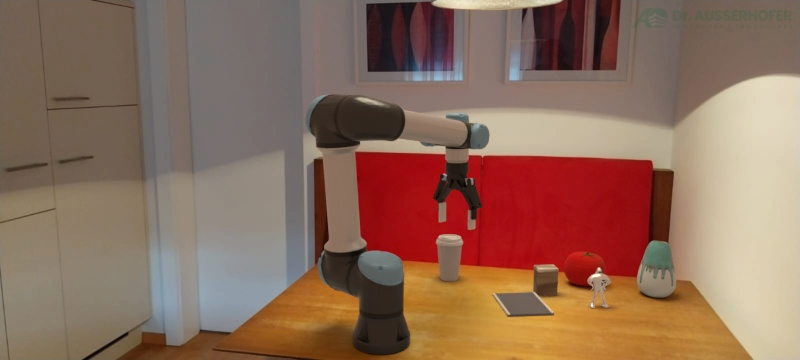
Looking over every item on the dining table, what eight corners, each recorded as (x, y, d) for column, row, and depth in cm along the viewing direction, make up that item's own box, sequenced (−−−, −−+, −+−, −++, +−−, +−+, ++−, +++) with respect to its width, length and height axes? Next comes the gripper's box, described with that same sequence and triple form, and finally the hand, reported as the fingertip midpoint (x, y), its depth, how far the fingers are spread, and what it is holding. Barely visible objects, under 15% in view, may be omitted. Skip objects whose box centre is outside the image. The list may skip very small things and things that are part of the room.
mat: (554, 314, 174) (554, 312, 174) (507, 316, 173) (507, 314, 172) (534, 293, 192) (534, 291, 191) (492, 295, 190) (492, 293, 190)
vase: (650, 286, 199) (654, 234, 196) (682, 296, 190) (686, 242, 187) (628, 292, 193) (632, 239, 190) (660, 303, 183) (664, 247, 181)
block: (557, 295, 190) (558, 268, 189) (537, 296, 189) (538, 269, 188) (552, 290, 194) (553, 264, 193) (532, 291, 194) (533, 265, 192)
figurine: (588, 308, 179) (590, 270, 177) (583, 303, 183) (585, 266, 181) (611, 308, 179) (613, 270, 178) (606, 303, 184) (608, 265, 182)
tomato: (560, 277, 208) (561, 246, 206) (600, 278, 207) (602, 247, 205) (566, 289, 196) (568, 256, 194) (609, 290, 195) (611, 257, 193)
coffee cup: (430, 276, 209) (430, 235, 207) (453, 272, 213) (453, 232, 211) (444, 284, 201) (445, 241, 198) (468, 280, 205) (468, 238, 203)
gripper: (494, 164, 182) (492, 230, 186) (439, 156, 202) (439, 217, 205) (477, 166, 178) (476, 234, 181) (422, 158, 197) (422, 220, 200)
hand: (456, 225), depth 193 cm, fingers open, 13 cm apart
